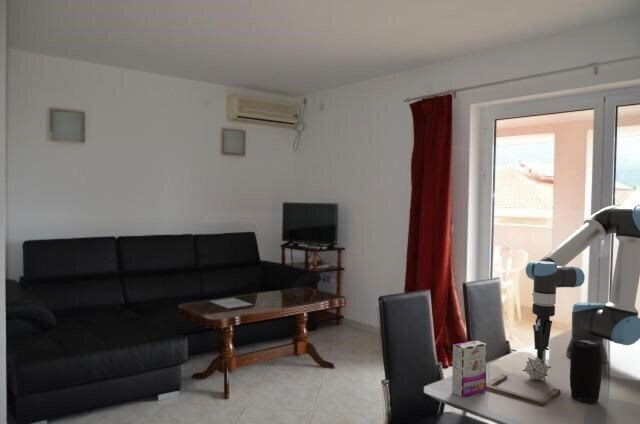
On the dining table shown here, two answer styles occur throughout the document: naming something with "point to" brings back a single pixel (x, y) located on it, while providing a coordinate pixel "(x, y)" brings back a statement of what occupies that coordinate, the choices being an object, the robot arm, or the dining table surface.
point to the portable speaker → (585, 370)
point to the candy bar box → (469, 368)
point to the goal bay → (541, 402)
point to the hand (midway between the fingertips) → (540, 367)
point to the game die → (536, 368)
